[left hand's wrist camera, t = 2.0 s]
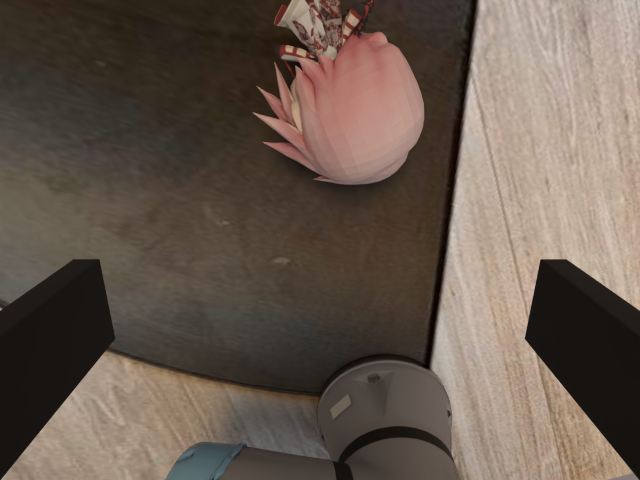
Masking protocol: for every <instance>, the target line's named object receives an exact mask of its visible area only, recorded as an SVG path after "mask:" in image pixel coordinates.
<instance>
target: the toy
mask: <svg viewBox="0 0 640 480" xmlns="http://www.w3.org/2000/svg"><path fill="white" fill-rule="evenodd" d="M370 3H371V4H370ZM373 6H374V0H367V2H361V3H357V4H355V5H354V6H353V7H352V8H351V10H350V9H349V10H346V11H348V14H347V16H346V15H343V16H342V15H341V7H340V2H339V0H288V7H287V6H285V5H283V4H282V6H281V8H280V10H279V12H278V14H277V16H276V19H275V22H274V24H275V25H277V26H282V27H286V28H288V29H291V30H292V31H293V32H294V33H295V35H296V36H297V37H298V38H299V39H300V41H301V42H302V43H304V44H305V45H306V46H307V48H308V49H309V51H310V52H307V51H305V50H303V49H300V48H297V47H293V46H289V45H279V46H277V47H276V49H275V52H274V53H275V56H276V57H277V58H279V59H281V60H283V61H284V62H285V64H286V66H287V68H288V69H289V71H290V73H291V74H292V76H293V78H294V80H293V82H292V84H291V86H290V91H289V89H288V87H287V85H286V82H285V80H284V78H283V76H282V74H281V73H280V71H279V69H278V67H277V65H276V63H275V68H276V73H277V80H278V86H279V92H280V98H281V100H280V99H278V98H277V97H275V96H274V95H272V94H270V93H268V92H265V91H264V90H262V89H261V88H259V87H258V86H257V87H258V88H259V89H260V91H261V92H262V93H263V95H264V96H265V98H266V100H267V101H268V103H269V105H270V106H271V108H272V109H273V111H274V112H275V113H276V115H277V116H278V118H279V119H280V120H279V119H275V118H272V117H268V116H264V115H260V114H257V113H254V114H255V115H256V116H258V117H259V118H260V119H261V120H263V121H264V122H265V123H266V124H268V125H269V126H270V127H272V128H273V129H274V130H275V131H277V132H278V133H279V134H280V135H281V136H283V137H284V138H285V139H286V140H288V141H289V142H290V143H287V142H280V143H269V142H263V143H265V144H267V145H269V146H271V147H273V148H274V149H276V150H278V151H279V152H281V153H283V154H284V155H286V156H288V157H290V158H292V159H294V160H296V161H298V162H299V163H301V164H303V165H304V166H306V167H308V168H309V169H311V170H313V171H314V172H316V173H318V174H320V175H323V176H321V177H318V178H315V179H313V180H320V181H327V182H332V183H337V184H346V185H348V184H368V183H373V182H378V181H381V180H383V179H385V178H388V177H389V176H391V175H392V174H393V173H395V172H396V171H397V170H398V169H399V168H400V167H401V165H402V164H403V163H404V162H405V160H406V158H407V155H408V151H409V150H410V149H411V148H412V147H413V146H414V145H415V144H416V143H417V140H418V138H419V136H420V133H421V131H422V128H423V122H424V103H423V99H422V95H421V92H420V89H419V86H418V84H417V81H416V79H415V77H414V75H413V73H412V71H411V68H410V66H409V64H408V62H407V61H406V59H405V57H404V56H403V54H402V53H401V51H400V50H399V49H398V48H397V47H396V46H394V45H393V44H390V43H388V42H387V39H386V36H385V35H384V34H383V33H382V32H376V33H373V34H366V33H363V32H361V31H362V29H363V30H365V24H366V22H368V14H369V13H370V12H371V9H372V7H373ZM343 17H344V18H345V19H344V20H343ZM286 60H287V61H295V62H299V63H300V65H301V67H302V70H303V72H302V71H301V69H300V68H298V67H297V66H296V65H295V67H296V77H295V75H294V74H293V72H292V70H291V68H290V66H289V65H288V63H287V61H286Z"/></svg>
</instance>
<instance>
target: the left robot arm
mask: <svg viewBox="0 0 640 480" xmlns="http://www.w3.org/2000/svg"><path fill="white" fill-rule="evenodd" d="M114 340H115V335H114V330H113V325H112V320H111V315H110V310H109V305H108V300H107V295H106V290H105V285H104V280H103V275H102V270H101V265H100V260H99V259H74V260H72V261H71V262H69V263H68V264H66V265H65V266H64V267H62V268H61V269H59V270H58V271H56V272H55V273H54V274H52V275H51V276H49V277H48V278H46V279H45V280H44V281H42V282H41V283H39V284H38V285H36V286H35V287H34V288H32V289H31V290H29V291H28V292H26V293H25V294H24V295H22V296H21V297H19V298H18V299H16V300H15V301H14V302H12V303H11V304H9V305H8V306H7V307H5V308H4V309H2V310H1V311H0V480H1V479H2V477H3V476H4V475H5V474H6V473H7V471H8V470H9V469H10V468H11V466H12V465H13V464H14V463H15V461H16V460H17V459H18V458H19V457H20V455H21V454H22V453H23V452H24V450H25V449H26V448H27V447H28V445H29V444H30V443H31V442H32V441H33V439H34V438H35V437H36V436H37V434H38V433H39V432H40V431H41V429H42V428H43V427H44V426H45V425H46V423H47V422H48V421H49V420H50V418H51V417H52V416H53V415H54V413H55V412H56V411H57V410H58V409H59V407H60V406H61V405H62V404H63V402H64V401H65V400H66V399H67V397H68V396H69V395H70V394H71V393H72V391H73V390H74V389H75V388H76V386H77V385H78V384H79V383H80V381H81V380H82V379H83V378H84V377H85V375H86V374H87V373H88V372H89V370H90V369H91V368H92V367H93V365H94V364H95V363H96V362H97V361H98V359H99V358H100V357H101V356H102V354H103V353H104V352H105V351H106V349H107V348H108V347H109V346H110V345H111V343H112V342H113V341H114ZM525 340H526V341H527V342H528V343H529V345H530V346H531V347H532V348H533V349H534V351H535V352H536V353H537V354H538V356H539V357H540V358H541V359H542V361H543V362H544V363H545V364H546V365H547V367H548V368H549V369H550V370H551V372H552V373H553V374H554V375H555V377H556V378H557V379H558V380H559V381H560V383H561V384H562V385H563V386H564V388H565V389H566V390H567V391H568V393H569V394H570V395H571V396H572V397H573V399H574V400H575V401H576V402H577V404H578V405H579V406H580V407H581V409H582V410H583V411H584V412H585V413H586V415H587V416H588V417H589V418H590V420H591V421H592V422H593V423H594V425H595V426H596V427H597V428H598V429H599V431H600V432H601V433H602V434H603V436H604V437H605V438H606V439H607V441H608V442H609V443H610V444H611V445H612V447H613V448H614V449H615V450H616V452H617V453H618V454H619V455H620V457H621V458H622V459H623V460H624V461H625V463H626V464H627V465H628V466H629V468H630V469H631V470H632V471H633V473H634V474H635V475H636V476H637V477H638V479H639V480H640V311H639V310H638V309H636V308H635V307H633V306H632V305H631V304H629V303H628V302H626V301H625V300H624V299H622V298H621V297H619V296H618V295H616V294H615V293H614V292H612V291H611V290H609V289H608V288H606V287H605V286H604V285H602V284H601V283H599V282H598V281H596V280H595V279H594V278H592V277H591V276H589V275H588V274H586V273H585V272H584V271H582V270H581V269H579V268H578V267H576V266H575V265H574V264H572V263H571V262H569V261H568V260H566V259H541V260H540V265H539V270H538V275H537V280H536V285H535V290H534V295H533V300H532V305H531V310H530V315H529V320H528V325H527V330H526V335H525ZM317 421H318V427H319V432H320V436H321V439H322V441H323V443H324V445H325V447H326V449H327V450H328V452H329V454H330V458H331V460H326V459H319V458H312V457H305V456H299V455H293V454H287V453H281V452H275V451H269V450H263V449H257V448H251V447H247V445H246V444H244V443H240V444H238V445H231V444H222V443H212V442H201V443H197V444H194V445H193V446H191V447H189V448H188V449H187V450H186V451H185V452H184V453H183V454H182V455H181V456H180V457H179V458H178V460H177V461H176V463H175V464H174V466H173V467H172V469H171V471H170V472H169V474H168V476H167V478H166V479H165V480H461V479H460V477H459V474H458V471H457V469H456V466H455V463H454V460H453V457H452V455H451V442H452V436H451V427H452V411H451V406H450V401H449V398H448V395H447V393H446V391H445V388H444V386H443V384H442V382H441V381H440V379H439V378H438V377H437V376H436V374H435V373H434V372H432V371H431V370H430V369H429V368H428V367H426V366H425V365H423V364H421V363H419V362H417V361H415V360H412V359H410V358H406V357H402V356H396V355H376V356H370V357H366V358H362V359H359V360H356V361H354V362H352V363H350V364H348V365H346V366H344V367H343V368H341V369H340V370H339V371H337V372H336V373H335V374H334V375H333V376H332V377H331V378H330V379H329V380H328V382H327V383H326V384H325V386H324V388H323V389H322V391H321V394H320V397H319V400H318V407H317Z"/></svg>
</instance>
